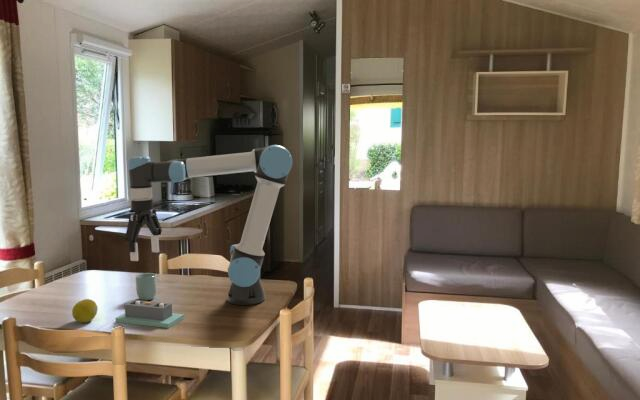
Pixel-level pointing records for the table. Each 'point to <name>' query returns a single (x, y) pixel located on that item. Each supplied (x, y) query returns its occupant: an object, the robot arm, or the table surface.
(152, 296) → the cup
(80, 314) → the lemon
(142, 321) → the pegboard
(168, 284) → the table surface
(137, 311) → the grey rectangular block
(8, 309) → the table surface
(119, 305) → the table surface
